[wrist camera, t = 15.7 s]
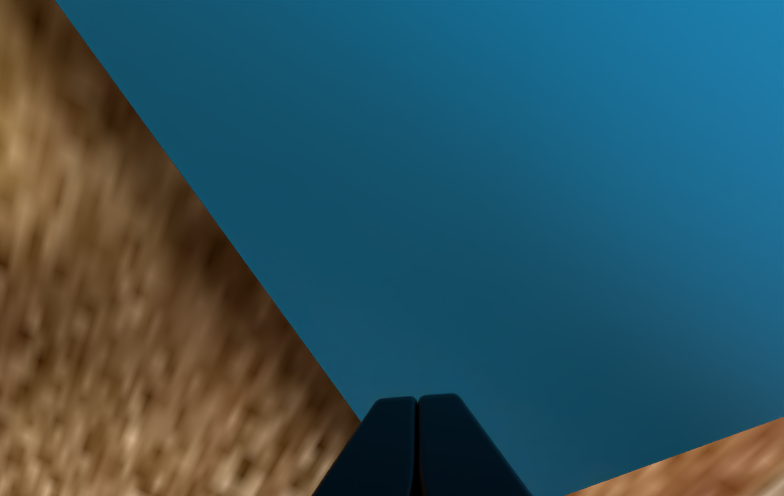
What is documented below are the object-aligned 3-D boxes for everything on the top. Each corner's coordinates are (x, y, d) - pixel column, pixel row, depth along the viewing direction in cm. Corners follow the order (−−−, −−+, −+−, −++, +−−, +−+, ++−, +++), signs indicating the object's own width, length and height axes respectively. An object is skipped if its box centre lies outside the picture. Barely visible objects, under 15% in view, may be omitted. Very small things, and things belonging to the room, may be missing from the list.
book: (448, 543, 22) (-240, -360, 12) (442, 443, 26) (-83, -304, 16) (1058, 320, 18) (797, -1373, 8) (942, 240, 22) (666, -960, 11)
